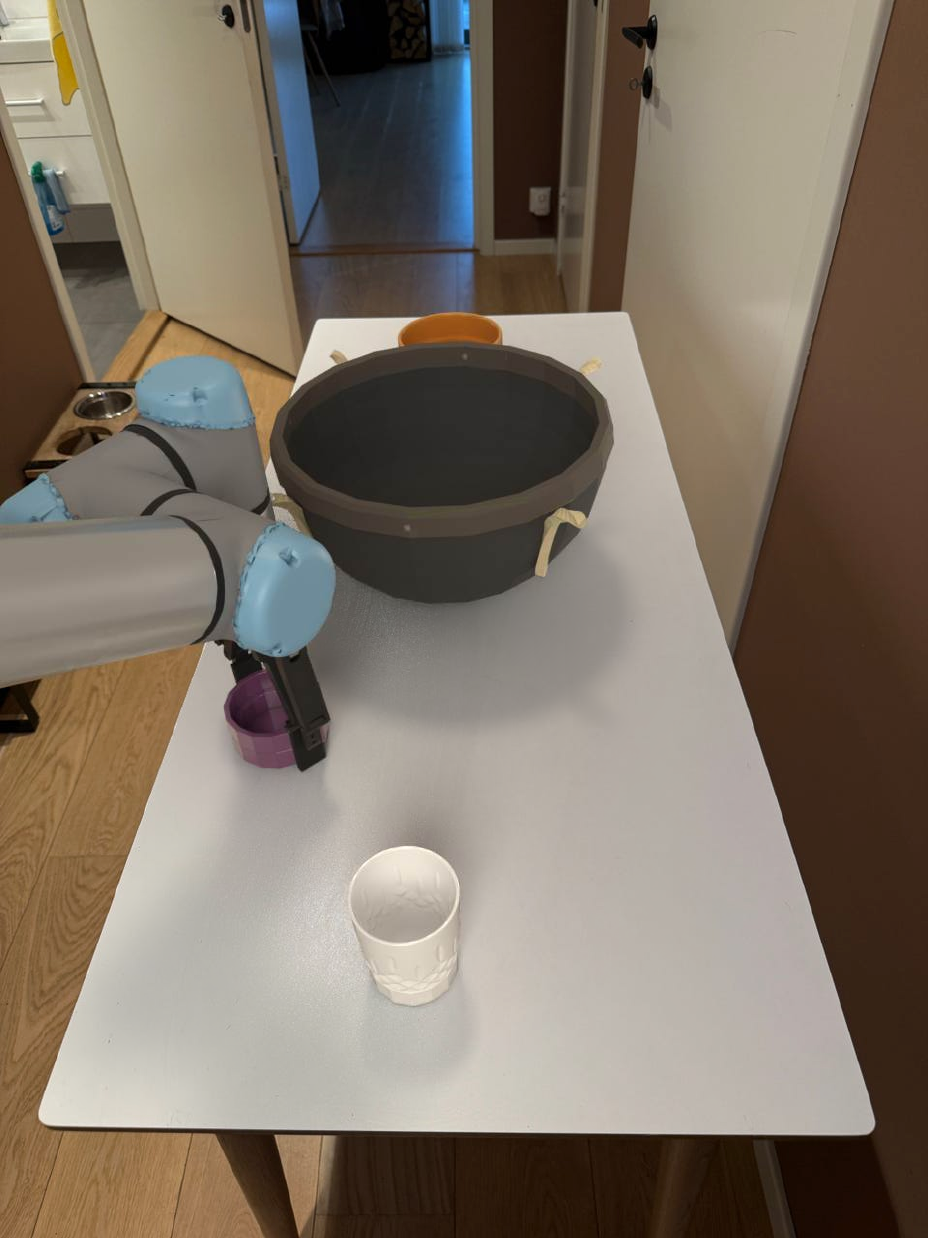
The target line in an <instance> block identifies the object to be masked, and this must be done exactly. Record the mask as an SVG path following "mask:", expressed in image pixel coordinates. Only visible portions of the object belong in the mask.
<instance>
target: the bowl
mask: <svg viewBox="0 0 928 1238" xmlns="http://www.w3.org/2000/svg"><path fill="white" fill-rule="evenodd" d="M329 358H330V359H332V360H333V362H334V363H335V365H333V366H331V367H330V368H328V369H326V370H324V371H323V372H321V373H320V374H318V375H316V376H315V377H313V378H312V379H310V380H308V381H306V382H305V383H303V384H301V385H300V386H299V387H298V389H296V391H295V392H294V393H293V394H292V395H291V397H289V398H288V400H286V401H285V403H284V404H283V405H282V406H281V407H280V408H279V410H277V413H276V415H275V419H274V423H273V425H272V429H271V433H270V437H269V441H268V442H269V455H270V460H271V463H272V466H273V469H274V472H275V475H276V478H277V481H278V484H279V486H280V487H281V488H282V489H284V492H285V493H281V492H275V493H274V492H273V493H272V494H273V495H274V496H275V502H274V503H273V504H272V506H273V507H275V508H276V507H277V508H280V509H284V510H286V511H288V512H289V514H290V516H291V517H292V519H293V521H294V523H295V525H296V526H297V529H298V532H300V533H302V534H304V535H306V536H308V537H310V538H312V539H314V540H316V541H318V542H319V543H320V544H322V545H323V546H324V547H325V548H326V550H327V551H328V553H329V554H330V556H331V558H332V560H333V563H334V565H336V566H337V567H338V568H339V569H340V570H341V571H343V572H344V573H345V574H346V575H347V576H349V577H350V578H351V579H353V580H355V581H357V582H359V583H361V584H364V585H365V586H368V587H370V588H372V589H374V590H377V591H379V592H381V593H383V594H386V595H388V596H390V597H392V598H395V599H401V600H407V601H412V602H417V603H423V604H428V605H430V604H431V605H433V604H435V605H436V604H460V603H461V604H462V603H469V602H473V601H477V600H481V599H485V598H490V597H494V596H497V595H501V594H503V593H505V592H508V591H510V590H511V589H513V588H515V587H516V586H519V585H521V584H523V583H524V582H526V581H528V580H531V579H532V578H534V577H535V576H539V577H543V578H545V576H546V574H547V572H548V566H549V565H550V564H551V563H552V562H553V561H554V560H555V559H556V558H557V557H558V556H559V555H560V554H561V553H562V552H563V551H564V550H565V549H566V548H567V547H568V546H569V545H570V544H571V542H572V541H573V540H574V539H575V538H576V537H577V536H578V535H579V533H580V532H581V530H582V528H584V527H585V526H586V525H587V524H588V523H589V520H588V518H589V516H590V513H591V511H592V508H593V505H594V502H595V500H596V498H597V494H598V492H599V489H600V487H601V483H602V482H603V478H604V475H605V473H606V469H607V465H608V461H609V459H610V455H611V454H612V451H613V448H614V445H615V434H614V424H613V420H612V416H611V413H610V408H609V404H608V400H607V398H606V397H605V396H604V395H603V394H602V393H601V392H600V391H599V390H598V389H597V387H596V386H595V385H594V384H593V383H592V381H590V380H589V379H588V378H587V377H586V376H587V375H589V374H591V373H592V372H594V371H598V370H599V369H600V368H601V367H602V366H603V363H602V361H601V359H600V357H592V358H591V359H589V360H587V361H586V362H585V363H584V364H583V365H582V366H581V367H580V368H579V369H578V370H576V369H574V368H573V367H571V366H569V365H568V364H565V363H564V362H561V361H559V360H557V359H555V358H554V357H551V356H550V355H545V354H542V353H539V352H535V351H532V350H528V349H523V348H520V347H516V346H513V345H506V344H502V345H498V344H488V343H478V342H468V341H459V342H436V343H418V344H412V345H407V346H402V347H399V346H396V347H391V348H386V349H381V350H375V351H372V352H369V353H366V354H363V355H360V356H358V357H355V358H352V359H349V360H348V358H347V357H346V356H345V354H344V353H342V352H341V351H340V350H338V349H333V351H332V352H331V353H330V354H329Z"/></svg>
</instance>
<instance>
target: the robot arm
mask: <svg viewBox="0 0 928 1238" xmlns="http://www.w3.org/2000/svg"><path fill="white" fill-rule="evenodd" d="M244 382H245V381H244V380H243V377H242V375H241V373H240V371H239V370H238V368H236V367H235V366H234V364H232V363H230V362H229V361H227V360H225V359H223V358H222V359H221V358H217V357H215V356H212V355H203V354H199V355H198V354H191V355H189V354H188V355H181V356H176V357H172V358H169V359H166V360H163V361H160V362H158V363H155V364H154V365H152V366H150V367H149V368H147V369H146V370H145V371H143V373H142V377H140V378H139V379H138V380H137V381H136V383H135V387H134V395H135V399H136V405H135V407H136V409H137V413H138V414H139V417H138V418H137V419H135V420H133V421H132V422H130V423H128V424H126V425H125V426H124V427H123V428H122V430H120V431H118V432H116V433H114V434H112V435H111V436H109V437H107V438H105V439H104V440H102V441H100V442H98V443H96V444H95V445H93V446H91V447H89V448H87V449H86V450H84V451H81V452H80V453H79V454H77V455H75V456H74V457H72V458H69V459H68V460H66V461H65V462H63V463H61V464H59V465H57V466H55V467H54V468H52V469H50V470H49V471H47V472H42V473H41V474H39V475H38V477H37V478H36V479H35V480H34V481H32V482H31V483H29V484H28V485H26V486H25V487H24V488H22V489H21V490H19V491H18V492H16V493H15V494H13V495H12V496H10V497H8V498H7V499H6V500H5V501H4V502H2V504H1V505H0V689H3V688H7V687H12V686H16V685H20V684H25V683H29V682H33V681H38V680H41V679H47V678H51V677H55V676H60V675H64V674H69V673H74V672H77V671H81V670H87V669H92V668H95V667H100V666H104V665H109V664H112V663H117V662H118V663H119V662H122V661H125V660H130V659H135V658H139V657H144V656H148V655H149V656H150V655H152V654H157V653H161V652H162V653H163V652H165V651H170V650H174V649H179V648H184V647H189V646H195V645H202V644H205V643H209V642H213V643H214V644H216V646H217V647H221V646H222V645H223V655H224V657H225V659H227V660H228V661H230V662H231V663H230V664H229V666H230V668H231V672H232V675H233V679H234V682H235V685H236V684H237V683H238V682H239V681H240V680H241V679H243V678H245V677H247V676H249V675H250V674H252V673H254V672H256V671H259V670H263V667H264V669H266V671H267V673H268V675H269V677H270V679H271V682H272V684H273V686H274V688H275V690H276V692H277V694H278V696H279V699H280V701H281V703H282V705H283V707H284V709H285V711H286V713H287V716H288V718H289V719H288V720H286V721H285V723H286V725H285V726H283V727H284V729H285V730H286V731H287V733H288V734H289V738H290V741H291V745H292V749H293V753H294V756H295V760H296V764H295V765H296V767H297V768H296V769H298V771H300V772H301V773H303V772H305V771H307V770H309V769H310V768H312V767H313V766H315V765H316V764H318V763H319V762H321V761H322V760H324V759H325V758H327V755H326V751H325V746H324V742H322V737H321V733H320V727H322V726H323V725H325V724H326V723H328V724H329V722H331V716H330V713H329V711H328V708H327V705H326V702H325V699H324V696H322V695H323V693H321V692H322V689H321V690H320V688H321V686H320V687H319V685H320V683H319V684H318V682H319V681H318V679H317V676H316V673H315V669H314V667H313V664H312V662H311V658H310V656H309V653H308V644H310V642H311V641H313V640H314V638H315V637H316V636H317V635H318V633H319V632H320V630H321V629H322V628H323V625H325V622H326V621H327V618H328V617H329V615H330V612H331V609H332V607H333V598H334V592H335V590H336V587H337V574H336V567H335V563H334V562H333V560H332V558H331V556H330V554H329V553H328V551H327V550H326V548H325V547H324V546H323V545H322V544H320V543H319V542H318V541H316V540H314V539H312V538H310V537H308V536H306V535H304V534H302V533H300V531H299V530H297V529H294V528H293V527H291V526H290V525H289V524H288V523H287V524H286V522H284V521H282V520H278V521H277V520H276V516H275V515H276V514H275V511H274V506H272V504H273V503H274V502H275V496H274V495H273V494H274V493H272V492H270V487H269V484H268V477H267V474H266V468H265V464H264V463H265V462H264V458H263V454H262V449H261V444H260V439H259V433H258V430H257V424H256V423H257V422H256V421H257V419H256V414H255V413H254V411H253V408H252V405H251V401H250V398H249V394H248V391H247V388H246V385H245V383H244ZM249 651H250V652H249ZM262 664H263V665H262Z"/></svg>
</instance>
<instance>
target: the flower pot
mask: <svg viewBox="0 0 928 1238" xmlns="http://www.w3.org/2000/svg"><path fill="white" fill-rule="evenodd" d="M459 341H468V342H478V343H488V344H498V345H504V344H503V329H502V327H501V326H500V325H499V324H498V323H497V322H495V321H494V320H493V319H492V318H489V317H486V316H484V315H480V314H478V313H477V314H476V313H471V312H461V311H460V312H457V311H456V312H454V311H452V312H451V311H450V312H439V313H435V314H430V315H425V316H423V317H420V318H417V319H415V320H413V321H411V322H409V323H408V324H406V325H404V326H403V327H402V329H400V331H399V333H398V335H397V344H398V346H397V347H402V346H407V345H412V344H418V343H436V342H459Z"/></svg>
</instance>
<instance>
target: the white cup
mask: <svg viewBox="0 0 928 1238" xmlns="http://www.w3.org/2000/svg"><path fill="white" fill-rule="evenodd" d="M460 890H461V889H460V883H459V879H458V876H457V873H456V872H455V870H454V868H453V867H452V866H451V864H450V863H449V862H448V861H447V860H446V858H444V857H443V856H441V855H440V854H438V853H437V852H435V851H433V850H431V849H428V848H425V847H421V846H418V845H417V846H416V845H400V846H394V847H389V848H387V849H383V850H381V851H379V852H377V853H375V854H374V855H372V856H371V857H369V858H368V859H367V860H365V861H364V862H363V863H362V864H361V865H360V866H359V867H358V869H357V870H356V871H355V873H354V874H353V876H352V878H351V880H350V882H349V885H348V889H347V893H346V894H347V895H346V906H347V911H348V915H349V917H350V921H351V924H352V926H353V930H354V933H355V936H356V939H357V943H358V946H359V948H360V950H361V953H362V956H363V959H364V962H365V964H366V967H367V968H368V970H369V973H370V976H371V977H372V980H373V982H374V985H375V987H376V989H377V991H378V992H379V993H380V994H382V995H383V996H384V997H385V998H387V999H388V1000H390V1002H392V1003H394V1004H400V1005H404V1006H409V1007H417V1006H419V1005H420V1006H421V1005H424V1004H427V1003H432V1002H434V1001H435V1000H436V999H438V998H439V997H440V996H442V995H443V994H444V993H445V992H446V991H447V990H449V988H450V987H451V984H452V982H453V980H454V979H455V977H456V975H457V972H458V954H459V953H458V952H459V948H460V935H461V934H460V933H461V932H460V931H461V916H460V915H461V914H460V912H461V911H460V910H461V909H460V908H461V900H460V899H461V898H460V897H461V891H460Z"/></svg>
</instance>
